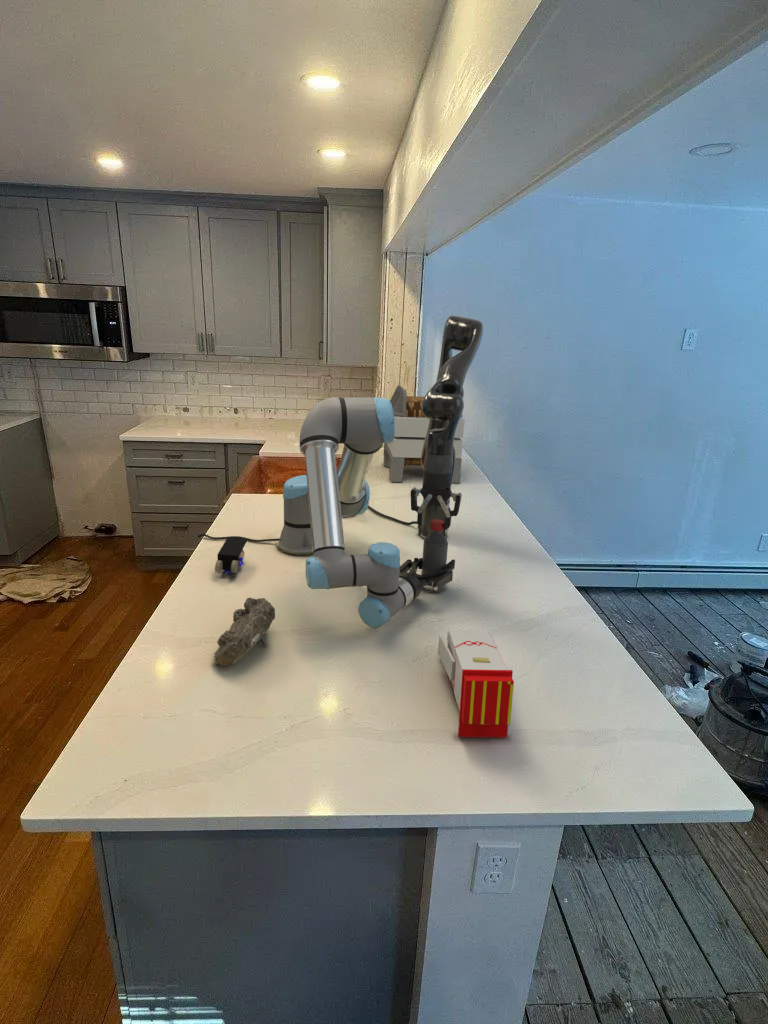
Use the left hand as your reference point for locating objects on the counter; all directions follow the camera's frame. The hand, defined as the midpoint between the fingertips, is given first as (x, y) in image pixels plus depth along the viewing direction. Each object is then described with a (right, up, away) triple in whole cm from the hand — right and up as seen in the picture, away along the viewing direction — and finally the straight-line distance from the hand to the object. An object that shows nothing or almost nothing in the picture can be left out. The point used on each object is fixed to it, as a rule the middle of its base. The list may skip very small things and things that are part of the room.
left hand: (441, 560), depth 164 cm
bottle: (-3, -8, -2) cm, 8 cm away
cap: (-2, +11, -9) cm, 14 cm away
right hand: (-3, +10, -8) cm, 13 cm away
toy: (+1, -24, -46) cm, 51 cm away
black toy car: (-62, -3, +3) cm, 62 cm away
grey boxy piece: (0, +33, +111) cm, 115 cm away
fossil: (-48, -16, -32) cm, 60 cm away
